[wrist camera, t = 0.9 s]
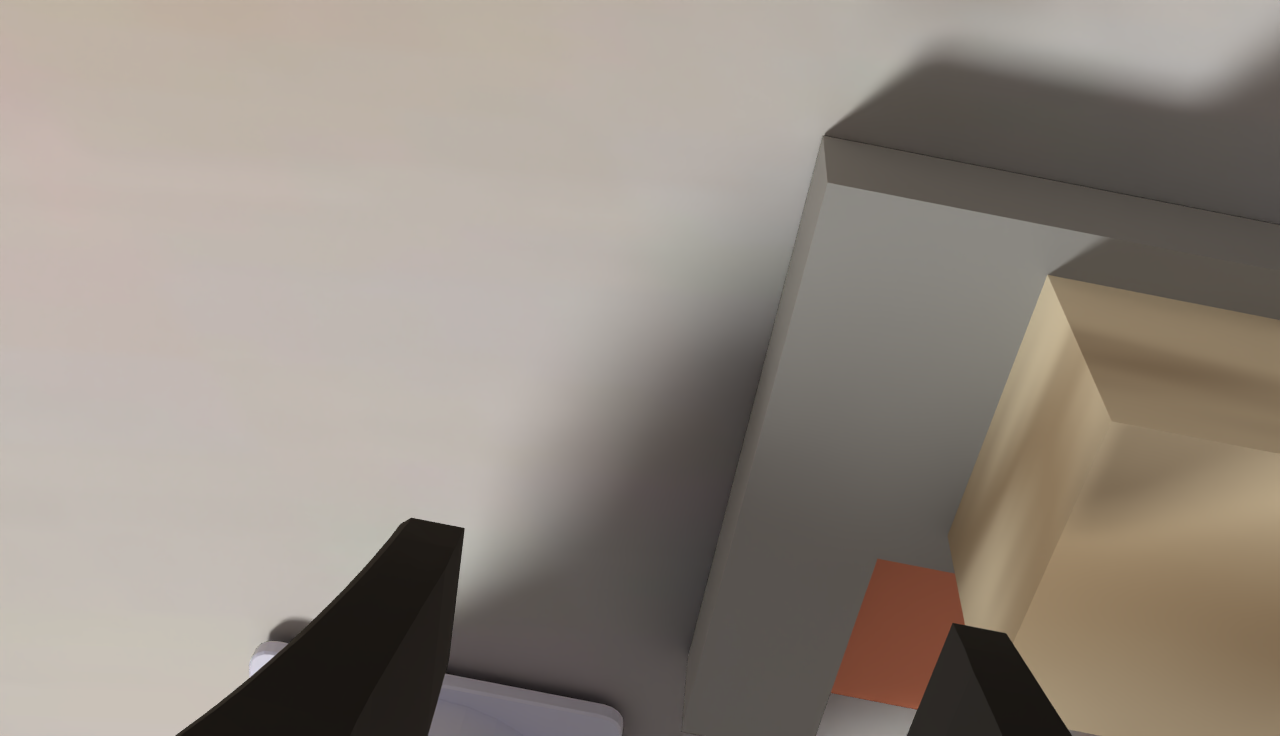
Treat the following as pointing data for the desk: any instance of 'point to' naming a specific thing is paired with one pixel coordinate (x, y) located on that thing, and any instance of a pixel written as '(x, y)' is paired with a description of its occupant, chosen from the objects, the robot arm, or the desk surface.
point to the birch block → (1134, 514)
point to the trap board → (906, 412)
